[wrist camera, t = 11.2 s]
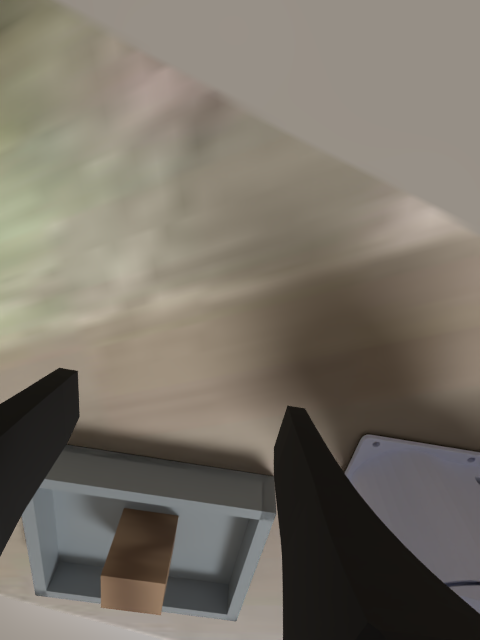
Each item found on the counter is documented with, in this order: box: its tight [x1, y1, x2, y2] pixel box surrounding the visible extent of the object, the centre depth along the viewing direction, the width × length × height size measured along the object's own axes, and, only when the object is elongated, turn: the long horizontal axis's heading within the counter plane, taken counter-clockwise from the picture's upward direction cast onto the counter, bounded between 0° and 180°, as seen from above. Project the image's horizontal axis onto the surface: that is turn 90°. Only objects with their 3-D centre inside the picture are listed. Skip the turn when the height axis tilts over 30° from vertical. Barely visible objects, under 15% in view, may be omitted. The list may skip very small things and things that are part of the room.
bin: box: [22, 445, 276, 621], centre depth 29 cm, size 18×16×3 cm
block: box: [101, 508, 179, 615], centre depth 28 cm, size 4×4×5 cm
